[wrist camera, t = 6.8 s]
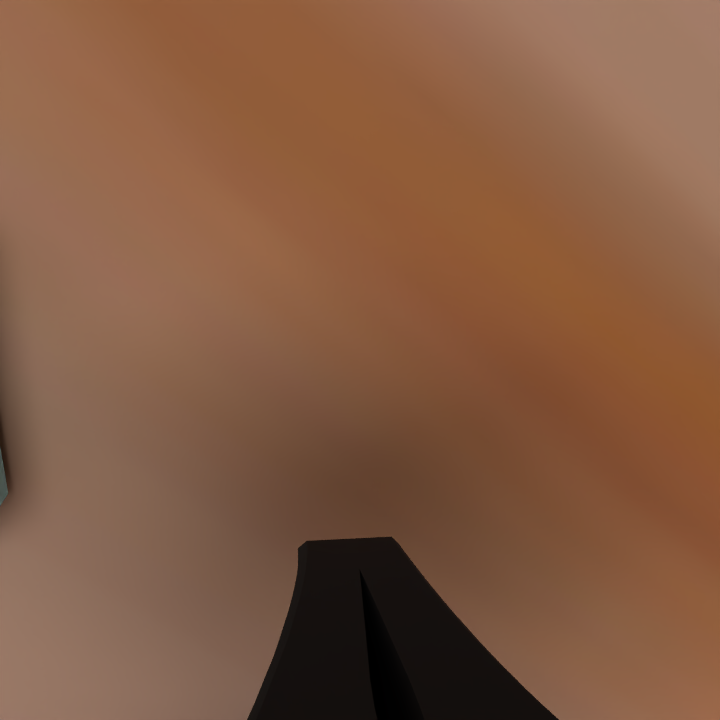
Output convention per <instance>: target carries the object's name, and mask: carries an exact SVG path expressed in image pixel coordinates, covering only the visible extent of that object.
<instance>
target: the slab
mask: <svg viewBox="0 0 720 720" xmlns="http://www.w3.org/2000/svg"><path fill="white" fill-rule="evenodd" d="M7 495H8V489H7V483H6V478H5V472H4V466H3V460H2V454H1V448H0V505H1V504H2V502H3V501H4V499H5V498H6V496H7Z"/></svg>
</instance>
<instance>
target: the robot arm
mask: <svg viewBox="0 0 720 720" xmlns="http://www.w3.org/2000/svg"><path fill="white" fill-rule="evenodd" d="M247 720H559V719H557V718H556V717H555V716H554V715H553V714H552V713H551V712H550V711H549V710H548V709H546V708H545V707H544V706H543V705H542V704H541V703H540V702H539V701H538V700H537V699H536V698H535V697H534V696H533V695H532V694H530V693H529V692H528V691H527V690H526V689H525V688H524V687H523V686H522V685H521V684H520V683H519V682H518V681H517V680H516V679H515V678H514V677H513V676H512V675H511V674H510V673H509V672H508V671H507V670H506V669H505V668H504V667H503V666H502V665H501V664H500V663H499V662H498V661H497V660H496V659H495V658H494V657H493V655H492V654H491V653H490V652H489V651H488V650H487V649H486V648H485V647H484V646H483V645H482V644H481V643H480V642H479V641H478V639H477V638H476V637H475V636H474V635H473V634H472V633H471V632H470V631H469V629H468V628H467V627H466V626H465V625H464V624H463V623H462V622H461V620H460V619H459V618H458V617H457V616H456V615H455V614H454V613H453V612H452V610H451V609H450V608H449V607H448V606H447V604H446V603H445V602H444V601H443V600H442V599H441V597H440V596H439V595H438V594H437V592H436V591H435V590H434V589H433V588H432V586H431V585H430V584H429V583H428V581H427V580H426V579H425V578H424V576H423V575H422V574H421V573H420V571H419V570H418V569H417V567H416V566H415V565H414V564H413V562H412V561H411V560H410V558H409V557H408V556H407V554H406V553H405V552H404V550H403V549H402V548H401V546H400V545H399V544H398V543H397V542H396V541H395V540H394V539H393V538H392V537H376V538H356V539H336V540H317V541H306V542H305V543H304V544H303V545H301V546H300V547H299V548H298V572H297V578H296V583H295V588H294V592H293V596H292V600H291V604H290V608H289V611H288V614H287V617H286V620H285V624H284V627H283V630H282V633H281V636H280V639H279V642H278V645H277V648H276V651H275V654H274V657H273V659H272V662H271V664H270V667H269V669H268V671H267V674H266V676H265V679H264V681H263V684H262V686H261V689H260V691H259V694H258V696H257V699H256V701H255V703H254V706H253V708H252V710H251V713H250V715H249V717H248V719H247Z"/></svg>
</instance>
